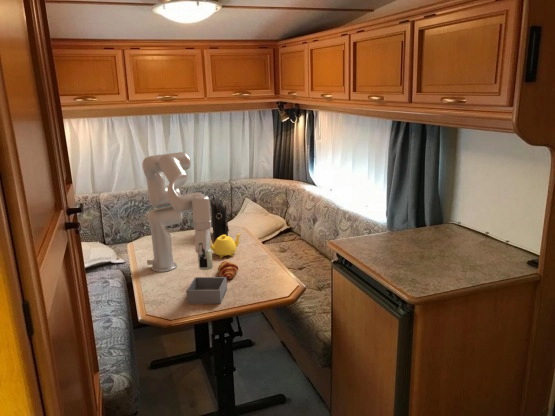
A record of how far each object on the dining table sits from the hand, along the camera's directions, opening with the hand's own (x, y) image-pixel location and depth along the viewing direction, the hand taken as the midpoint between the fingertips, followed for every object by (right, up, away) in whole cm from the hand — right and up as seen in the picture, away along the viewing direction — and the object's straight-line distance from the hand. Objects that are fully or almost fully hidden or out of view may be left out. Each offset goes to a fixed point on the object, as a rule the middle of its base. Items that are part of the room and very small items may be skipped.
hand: (205, 264), depth 200 cm
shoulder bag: (-4, +6, +87) cm, 87 cm away
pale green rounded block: (0, -2, 0) cm, 2 cm away
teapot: (+2, -2, +56) cm, 56 cm away
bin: (0, -15, +4) cm, 15 cm away
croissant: (+7, -9, +29) cm, 31 cm away
